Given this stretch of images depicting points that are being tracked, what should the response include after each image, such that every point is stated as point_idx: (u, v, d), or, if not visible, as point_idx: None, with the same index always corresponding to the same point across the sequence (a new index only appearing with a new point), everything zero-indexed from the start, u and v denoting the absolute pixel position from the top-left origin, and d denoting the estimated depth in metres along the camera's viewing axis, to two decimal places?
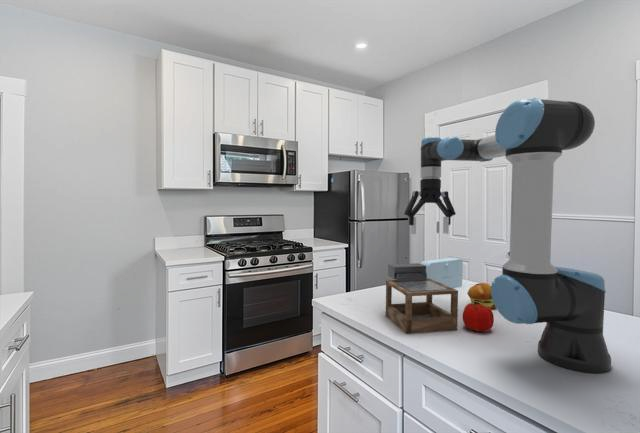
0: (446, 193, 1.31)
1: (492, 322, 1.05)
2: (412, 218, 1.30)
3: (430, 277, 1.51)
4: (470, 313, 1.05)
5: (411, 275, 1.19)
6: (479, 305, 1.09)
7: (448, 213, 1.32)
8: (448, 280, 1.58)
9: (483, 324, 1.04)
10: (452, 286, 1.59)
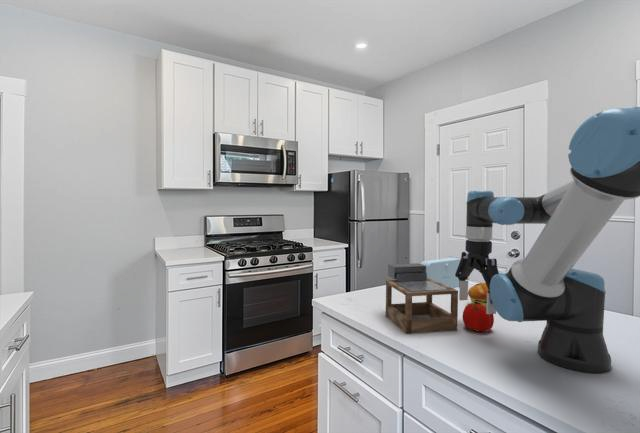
0: (487, 261, 1.01)
1: (492, 322, 1.05)
2: None
3: (430, 277, 1.51)
4: (470, 313, 1.05)
5: (411, 275, 1.19)
6: (479, 305, 1.09)
7: (489, 288, 1.01)
8: (448, 280, 1.58)
9: (483, 324, 1.04)
10: (451, 286, 1.60)
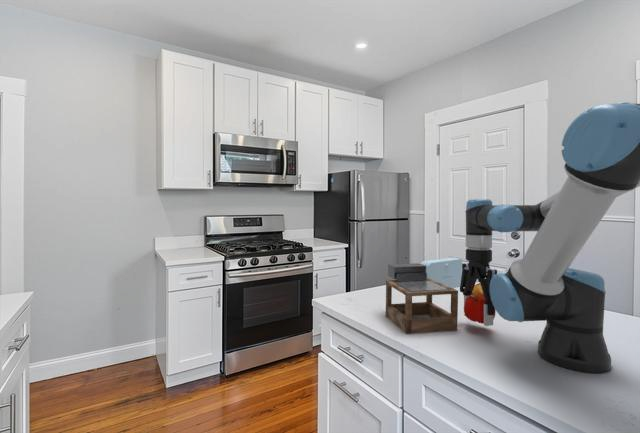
0: (488, 272, 1.01)
1: (494, 313, 1.04)
2: None
3: (430, 277, 1.51)
4: (472, 304, 1.05)
5: (411, 275, 1.19)
6: (480, 297, 1.09)
7: (486, 299, 1.02)
8: (448, 280, 1.58)
9: None
10: (451, 286, 1.60)
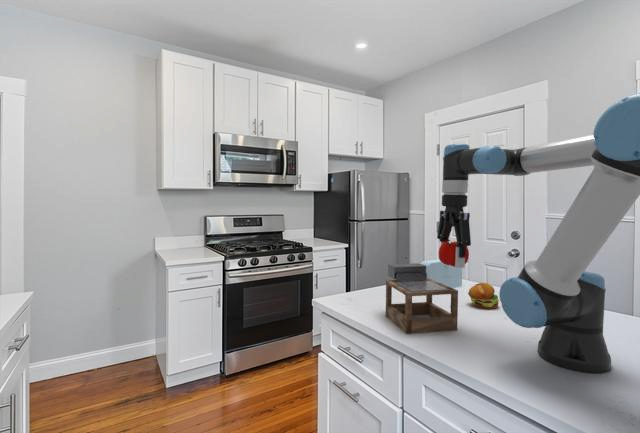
0: (460, 215, 1.02)
1: (466, 257, 1.07)
2: None
3: (430, 277, 1.51)
4: (445, 247, 1.07)
5: (411, 275, 1.19)
6: (455, 242, 1.11)
7: (458, 242, 1.04)
8: (448, 280, 1.58)
9: None
10: (451, 286, 1.60)
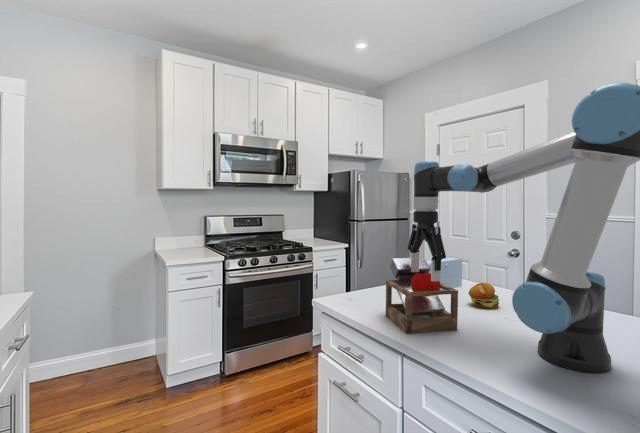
0: (431, 229, 1.04)
1: (438, 285, 1.08)
2: None
3: None
4: (416, 277, 1.09)
5: None
6: None
7: (433, 255, 1.03)
8: (448, 280, 1.58)
9: (429, 286, 1.06)
10: (451, 286, 1.60)
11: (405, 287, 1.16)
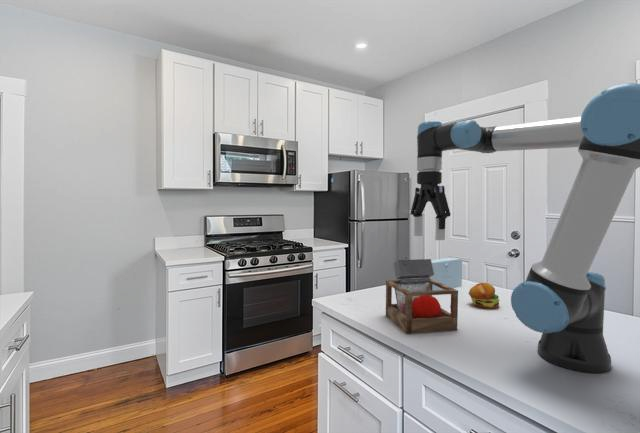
0: (435, 188, 1.03)
1: (438, 305, 1.09)
2: None
3: (430, 277, 1.51)
4: (415, 300, 1.10)
5: (414, 281, 1.17)
6: None
7: (437, 214, 1.02)
8: (448, 280, 1.58)
9: (429, 304, 1.07)
10: (451, 286, 1.60)
11: None
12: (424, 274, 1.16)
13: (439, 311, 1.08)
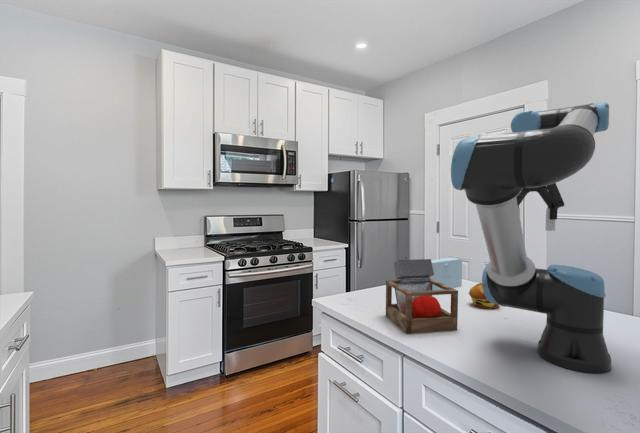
0: None
1: (438, 305, 1.09)
2: None
3: (430, 277, 1.51)
4: (415, 300, 1.10)
5: (414, 281, 1.17)
6: None
7: (548, 204, 1.02)
8: (448, 280, 1.58)
9: (429, 304, 1.07)
10: (451, 286, 1.60)
11: None
12: (424, 274, 1.16)
13: (439, 311, 1.08)
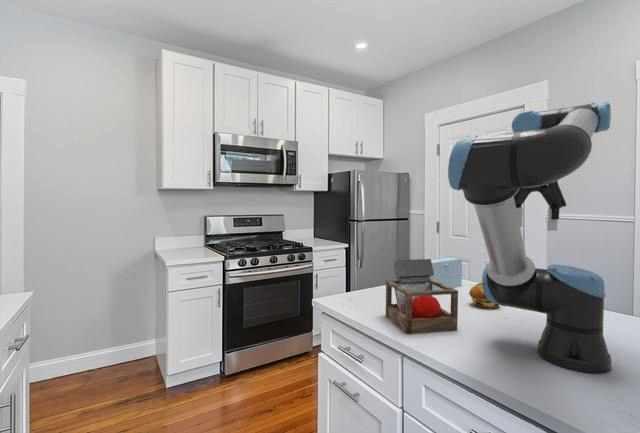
0: None
1: (438, 305, 1.09)
2: None
3: (430, 277, 1.51)
4: (415, 300, 1.10)
5: (414, 281, 1.17)
6: None
7: (550, 204, 1.02)
8: (448, 280, 1.58)
9: (429, 304, 1.07)
10: (451, 286, 1.60)
11: None
12: (424, 274, 1.16)
13: (439, 311, 1.08)
